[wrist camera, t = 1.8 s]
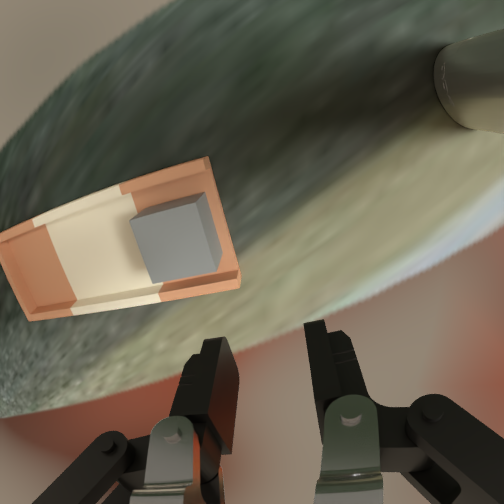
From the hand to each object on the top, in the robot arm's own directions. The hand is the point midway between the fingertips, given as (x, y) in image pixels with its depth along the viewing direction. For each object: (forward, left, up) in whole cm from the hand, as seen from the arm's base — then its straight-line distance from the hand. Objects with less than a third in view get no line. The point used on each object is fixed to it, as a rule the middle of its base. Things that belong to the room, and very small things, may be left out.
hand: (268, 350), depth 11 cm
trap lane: (+18, 0, -19) cm, 26 cm away
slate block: (+8, 0, -19) cm, 20 cm away
